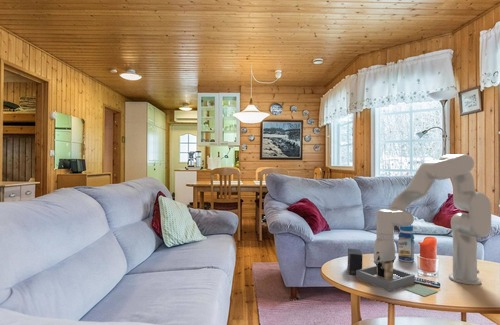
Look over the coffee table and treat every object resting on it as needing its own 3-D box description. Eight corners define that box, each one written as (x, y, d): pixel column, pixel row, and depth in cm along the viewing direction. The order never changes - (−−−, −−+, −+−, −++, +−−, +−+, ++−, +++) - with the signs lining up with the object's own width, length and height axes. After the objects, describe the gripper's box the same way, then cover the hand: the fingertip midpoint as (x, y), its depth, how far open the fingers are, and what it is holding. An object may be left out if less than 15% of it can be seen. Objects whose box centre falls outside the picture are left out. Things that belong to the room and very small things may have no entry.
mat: (417, 284, 145) (417, 284, 145) (438, 291, 137) (438, 291, 137) (404, 289, 140) (404, 288, 140) (424, 296, 132) (424, 296, 132)
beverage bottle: (417, 262, 179) (418, 226, 179) (404, 262, 177) (404, 226, 177) (407, 257, 187) (407, 223, 187) (394, 258, 186) (395, 223, 186)
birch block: (383, 274, 153) (383, 259, 153) (393, 277, 149) (393, 262, 149) (376, 276, 150) (376, 261, 150) (386, 279, 146) (386, 264, 146)
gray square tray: (380, 272, 162) (380, 264, 162) (414, 283, 146) (414, 275, 146) (356, 278, 153) (356, 270, 153) (389, 291, 137) (389, 282, 137)
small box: (363, 276, 156) (363, 254, 156) (349, 274, 158) (349, 253, 158) (360, 268, 167) (360, 248, 167) (347, 268, 168) (347, 248, 168)
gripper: (389, 232, 157) (389, 269, 157) (366, 236, 148) (365, 276, 148) (403, 235, 151) (403, 274, 151) (380, 240, 142) (379, 281, 142)
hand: (384, 274), depth 150 cm, fingers closed on birch block, 5 cm apart
